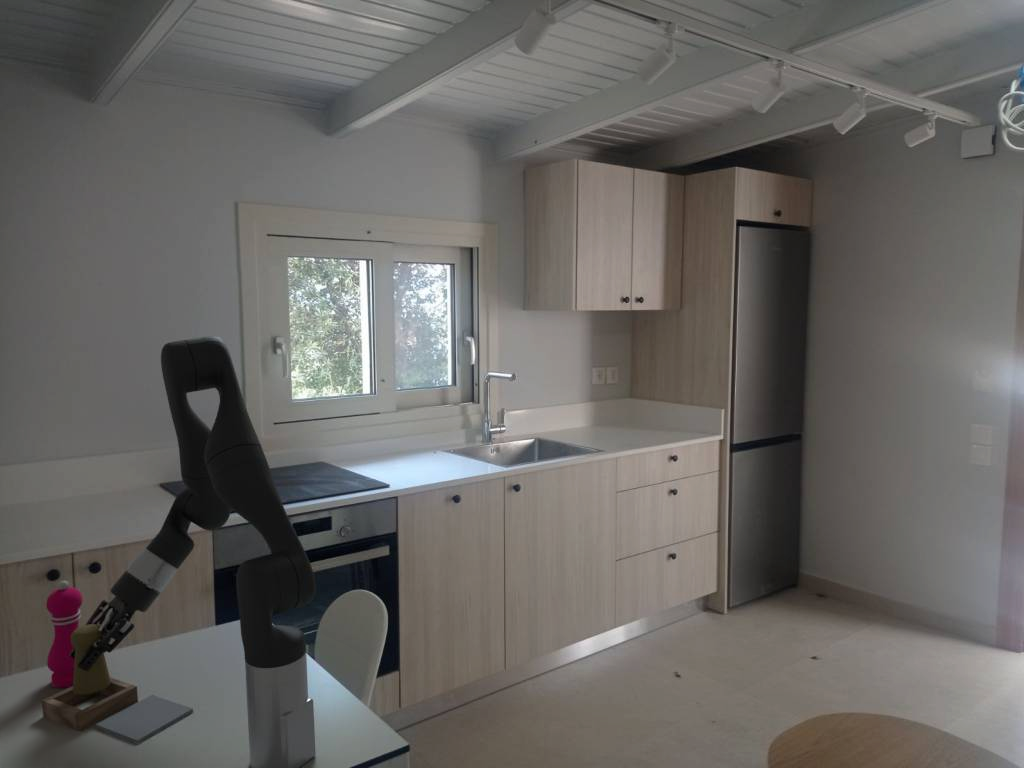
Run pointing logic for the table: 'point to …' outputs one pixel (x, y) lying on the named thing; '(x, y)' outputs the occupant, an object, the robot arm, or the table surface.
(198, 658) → the table surface
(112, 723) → the rubber mat
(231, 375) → the robot arm
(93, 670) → the cork
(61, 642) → the pepper mill
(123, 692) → the walnut collar
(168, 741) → the table surface
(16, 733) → the table surface
